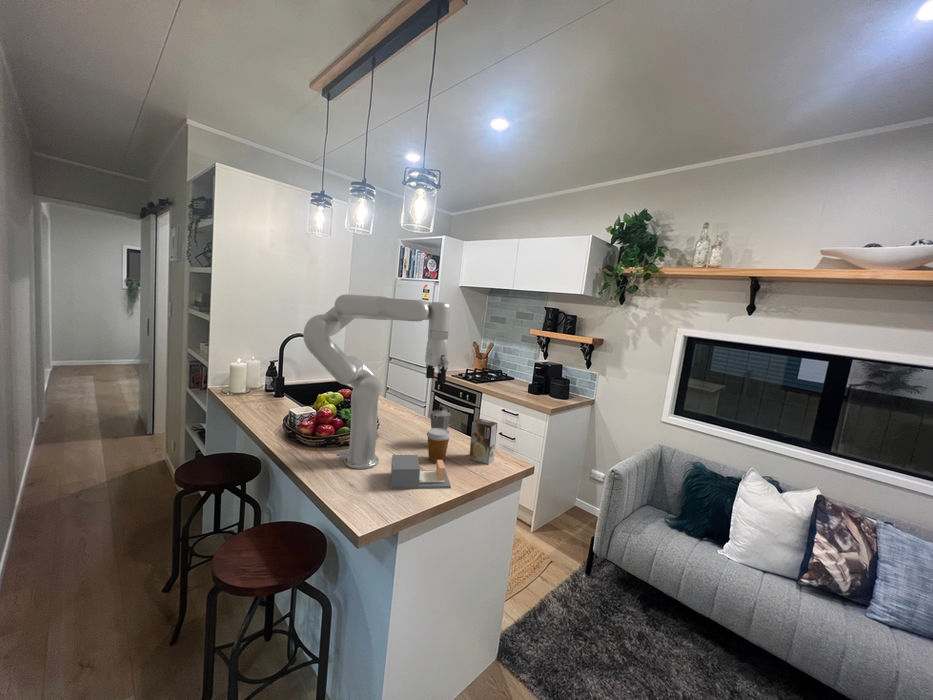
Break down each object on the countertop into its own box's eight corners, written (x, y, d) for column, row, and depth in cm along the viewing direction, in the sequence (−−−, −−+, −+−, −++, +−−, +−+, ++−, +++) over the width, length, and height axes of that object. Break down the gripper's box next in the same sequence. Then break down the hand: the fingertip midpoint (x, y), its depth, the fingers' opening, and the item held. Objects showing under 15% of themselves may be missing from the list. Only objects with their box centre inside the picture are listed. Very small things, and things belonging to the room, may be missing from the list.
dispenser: (391, 488, 123) (392, 469, 123) (391, 472, 135) (392, 454, 134) (450, 488, 128) (452, 469, 127) (445, 472, 139) (447, 455, 139)
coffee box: (494, 459, 155) (498, 422, 153) (488, 464, 150) (492, 426, 148) (475, 454, 159) (478, 417, 158) (468, 458, 154) (471, 421, 152)
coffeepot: (441, 453, 157) (444, 412, 155) (421, 448, 160) (424, 407, 158) (455, 442, 171) (458, 404, 169) (436, 438, 175) (440, 400, 173)
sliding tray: (393, 482, 125) (394, 469, 125) (392, 472, 133) (393, 459, 133) (444, 482, 129) (445, 468, 128) (441, 472, 137) (442, 459, 136)
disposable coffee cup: (444, 466, 144) (447, 437, 143) (421, 462, 146) (423, 433, 144) (450, 457, 153) (453, 429, 152) (428, 454, 155) (431, 426, 154)
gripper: (419, 333, 144) (417, 376, 146) (439, 337, 129) (436, 386, 131) (437, 333, 148) (434, 375, 150) (458, 338, 133) (454, 385, 135)
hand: (435, 380), depth 140 cm, fingers open, 9 cm apart
